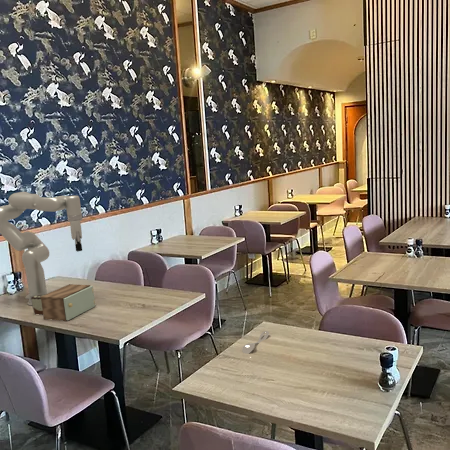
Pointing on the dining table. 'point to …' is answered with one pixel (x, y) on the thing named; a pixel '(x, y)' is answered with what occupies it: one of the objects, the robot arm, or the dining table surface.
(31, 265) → the robot arm
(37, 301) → the food container
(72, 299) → the cabinet door
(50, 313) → the wooden shelf
